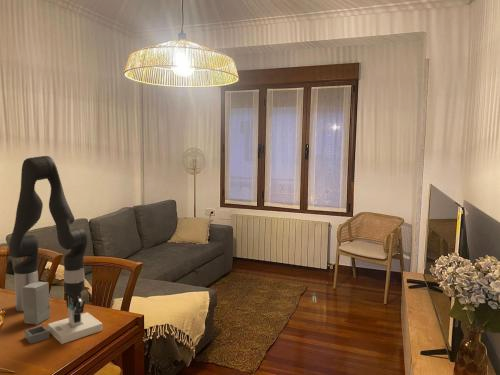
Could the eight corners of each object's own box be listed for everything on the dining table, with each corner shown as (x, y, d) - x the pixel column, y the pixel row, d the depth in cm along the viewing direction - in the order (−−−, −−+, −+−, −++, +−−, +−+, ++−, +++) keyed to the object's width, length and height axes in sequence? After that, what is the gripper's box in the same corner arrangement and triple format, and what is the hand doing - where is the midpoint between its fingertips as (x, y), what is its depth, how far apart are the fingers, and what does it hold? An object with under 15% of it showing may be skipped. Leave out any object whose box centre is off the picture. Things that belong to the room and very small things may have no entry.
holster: (25, 337, 152) (24, 330, 151) (43, 332, 156) (43, 324, 156) (30, 344, 147) (30, 336, 147) (49, 338, 152) (49, 330, 152)
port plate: (48, 330, 157) (47, 323, 157) (87, 318, 169) (87, 312, 169) (61, 344, 148) (61, 336, 147) (102, 330, 159) (102, 323, 159)
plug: (68, 327, 158) (68, 303, 157) (77, 324, 161) (77, 301, 159) (72, 330, 156) (71, 306, 154) (81, 327, 158) (81, 304, 157)
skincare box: (37, 325, 162) (36, 288, 160) (22, 323, 163) (20, 286, 161) (51, 316, 170) (50, 281, 168) (37, 314, 171) (35, 279, 169)
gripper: (57, 276, 158) (58, 317, 160) (71, 286, 148) (72, 329, 150) (76, 272, 163) (77, 312, 165) (91, 281, 154) (91, 323, 156)
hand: (75, 320), depth 158 cm, fingers closed on plug, 3 cm apart
